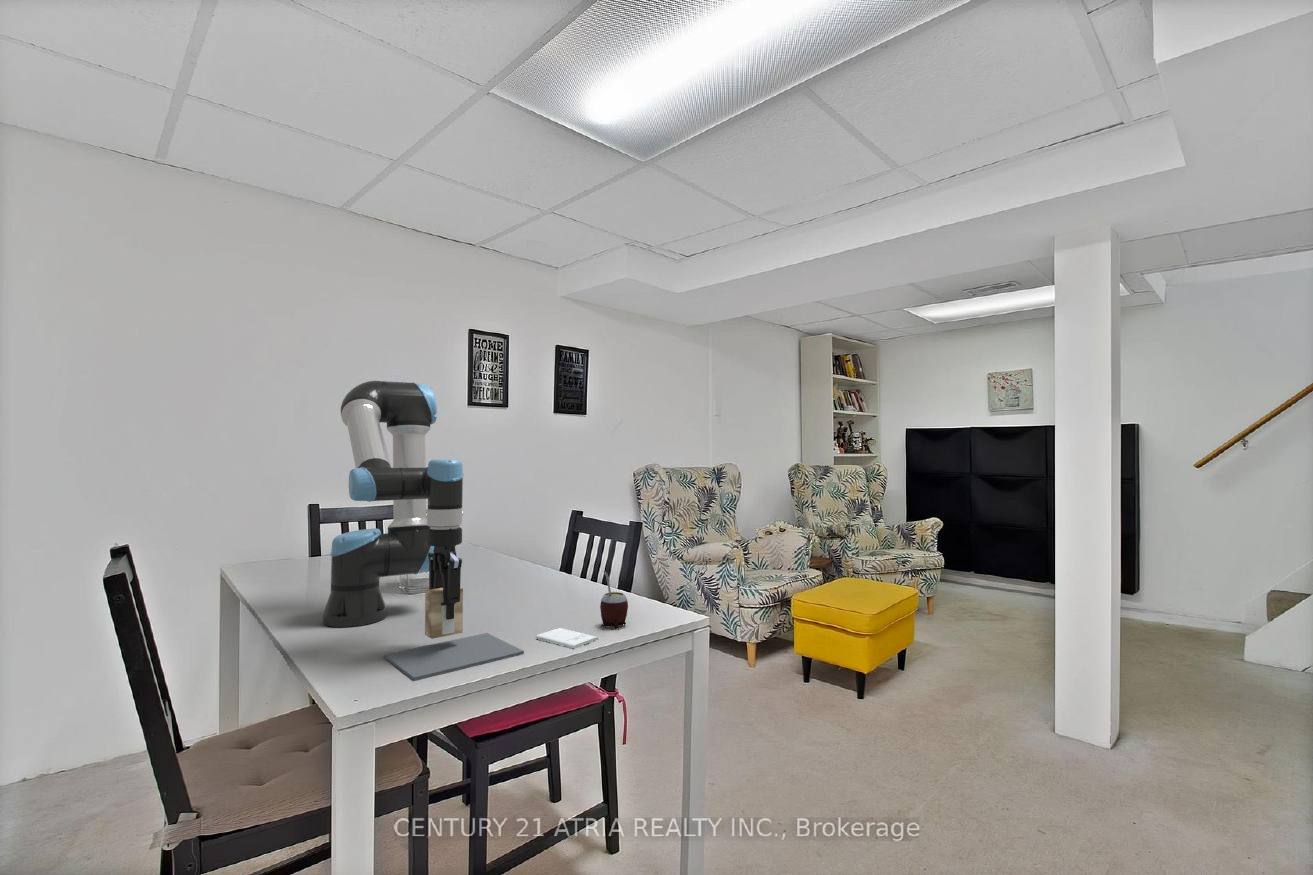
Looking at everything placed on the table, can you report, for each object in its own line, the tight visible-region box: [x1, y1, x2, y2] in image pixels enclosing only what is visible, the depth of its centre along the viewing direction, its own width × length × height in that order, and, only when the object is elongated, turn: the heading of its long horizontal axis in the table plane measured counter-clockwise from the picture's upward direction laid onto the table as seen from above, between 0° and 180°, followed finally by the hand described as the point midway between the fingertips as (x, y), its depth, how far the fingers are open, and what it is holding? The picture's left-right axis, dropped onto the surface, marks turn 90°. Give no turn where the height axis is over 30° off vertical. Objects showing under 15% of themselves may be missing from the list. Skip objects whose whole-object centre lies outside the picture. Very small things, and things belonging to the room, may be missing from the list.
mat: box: [383, 632, 525, 681], centre depth 133 cm, size 18×24×1 cm
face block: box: [424, 587, 464, 640], centre depth 137 cm, size 4×7×10 cm, turn 132°
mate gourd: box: [599, 570, 629, 629], centre depth 156 cm, size 8×8×15 cm
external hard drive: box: [535, 627, 599, 650], centre depth 144 cm, size 2×8×12 cm
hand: (443, 630), depth 137 cm, fingers closed on face block, 4 cm apart
